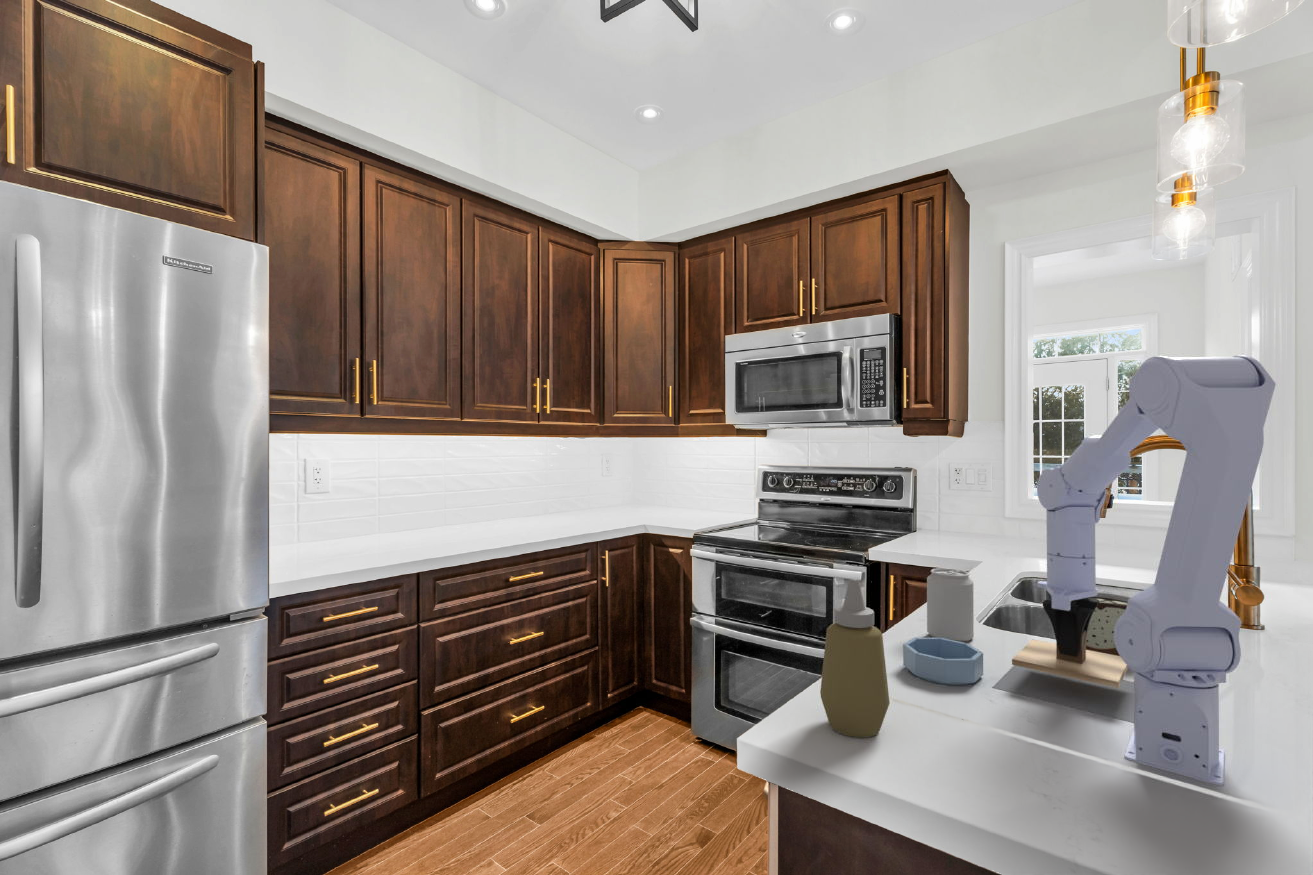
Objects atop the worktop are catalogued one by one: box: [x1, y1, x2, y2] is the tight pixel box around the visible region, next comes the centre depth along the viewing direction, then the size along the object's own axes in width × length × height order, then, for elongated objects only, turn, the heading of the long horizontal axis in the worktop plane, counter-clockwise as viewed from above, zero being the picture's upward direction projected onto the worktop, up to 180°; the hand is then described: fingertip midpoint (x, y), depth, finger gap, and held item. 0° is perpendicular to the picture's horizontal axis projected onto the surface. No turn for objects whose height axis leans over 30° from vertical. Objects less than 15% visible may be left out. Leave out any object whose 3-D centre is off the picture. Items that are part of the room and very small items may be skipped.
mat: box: [991, 665, 1134, 724], centre depth 87 cm, size 16×16×1 cm
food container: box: [1086, 591, 1131, 656], centre depth 100 cm, size 12×6×10 cm, turn 84°
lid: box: [1011, 630, 1129, 688], centre depth 87 cm, size 12×12×5 cm
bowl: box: [902, 637, 984, 686], centre depth 92 cm, size 10×10×4 cm
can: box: [926, 567, 975, 643], centre depth 109 cm, size 8×8×12 cm
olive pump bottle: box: [819, 578, 891, 738], centre depth 75 cm, size 8×8×18 cm
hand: (1071, 651), depth 87 cm, fingers closed on lid, 3 cm apart
